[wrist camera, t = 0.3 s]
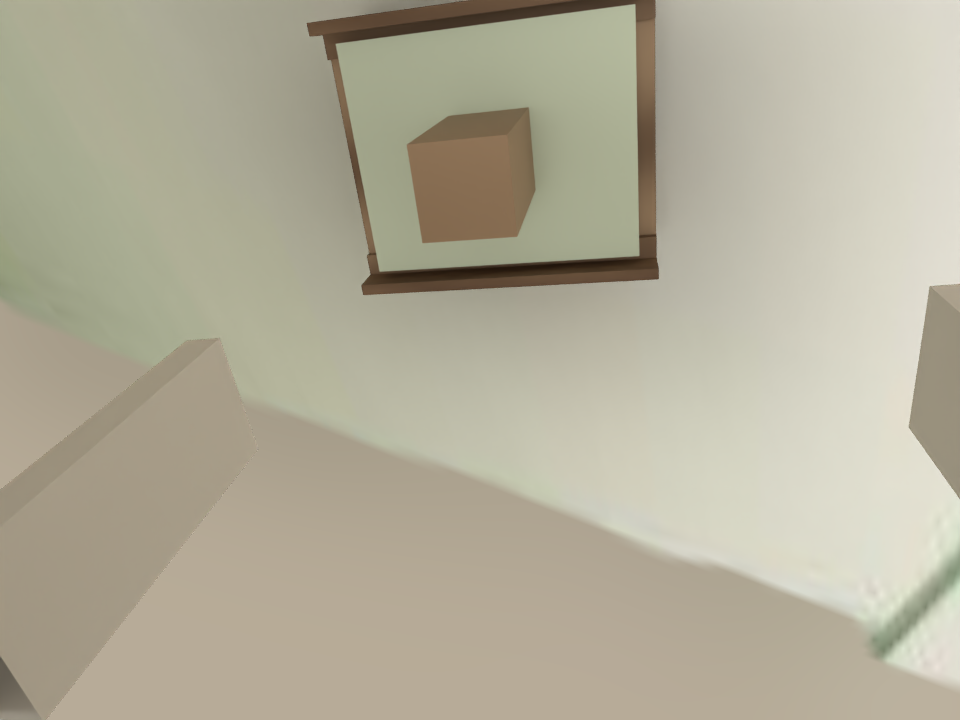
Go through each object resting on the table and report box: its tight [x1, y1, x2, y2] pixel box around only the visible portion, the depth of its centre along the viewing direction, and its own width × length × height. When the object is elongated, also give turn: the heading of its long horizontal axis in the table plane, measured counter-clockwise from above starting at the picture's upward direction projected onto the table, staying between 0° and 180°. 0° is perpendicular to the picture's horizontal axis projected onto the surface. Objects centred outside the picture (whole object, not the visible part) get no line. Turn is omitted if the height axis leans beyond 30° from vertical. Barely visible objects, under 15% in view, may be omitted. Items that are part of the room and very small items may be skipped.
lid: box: [336, 4, 639, 272], centre depth 27 cm, size 10×12×8 cm
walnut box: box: [307, 0, 659, 295], centre depth 33 cm, size 12×14×8 cm
